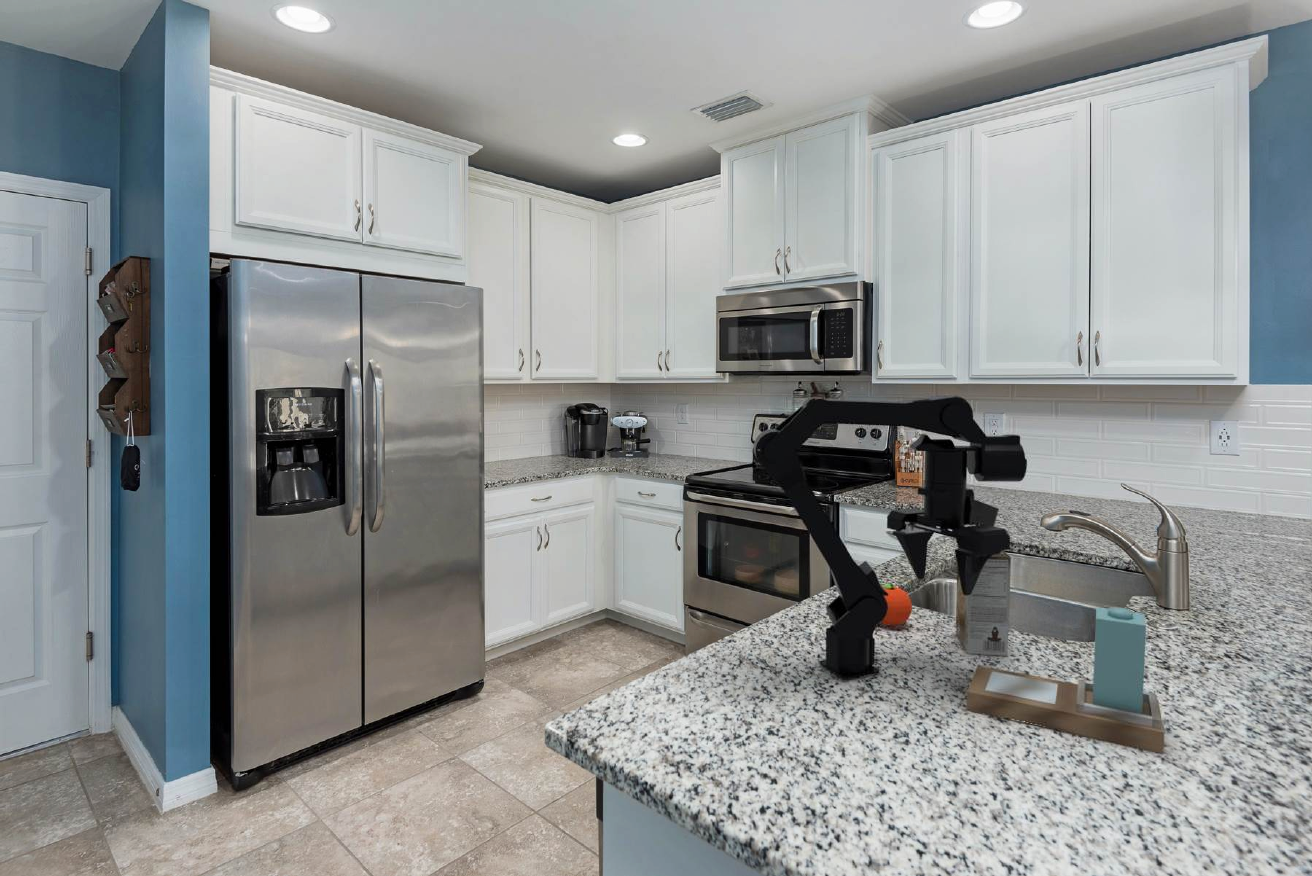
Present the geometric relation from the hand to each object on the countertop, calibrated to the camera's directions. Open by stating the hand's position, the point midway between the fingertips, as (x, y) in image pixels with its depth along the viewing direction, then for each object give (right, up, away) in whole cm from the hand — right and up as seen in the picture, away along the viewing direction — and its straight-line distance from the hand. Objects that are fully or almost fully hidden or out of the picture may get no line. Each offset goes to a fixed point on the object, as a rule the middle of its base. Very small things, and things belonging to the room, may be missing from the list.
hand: (943, 586), depth 103 cm
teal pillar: (+15, -12, -16) cm, 25 cm away
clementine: (-1, -12, +22) cm, 25 cm away
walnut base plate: (+10, -14, -13) cm, 21 cm away
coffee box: (+11, -12, +12) cm, 20 cm away
